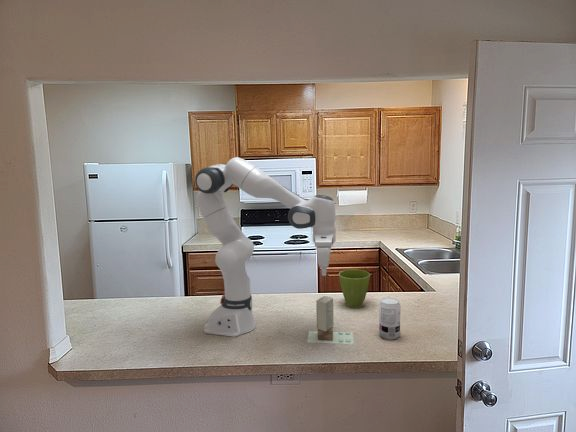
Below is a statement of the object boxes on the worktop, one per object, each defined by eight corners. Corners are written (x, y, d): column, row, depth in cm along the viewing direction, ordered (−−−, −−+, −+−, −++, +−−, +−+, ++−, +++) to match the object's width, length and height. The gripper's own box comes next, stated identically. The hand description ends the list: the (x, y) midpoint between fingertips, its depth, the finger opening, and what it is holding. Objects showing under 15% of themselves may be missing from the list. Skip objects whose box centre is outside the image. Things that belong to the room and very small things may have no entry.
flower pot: (332, 305, 200) (332, 274, 197) (351, 297, 209) (351, 267, 207) (356, 313, 189) (356, 280, 186) (375, 304, 199) (376, 273, 196)
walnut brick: (317, 340, 161) (317, 330, 160) (318, 333, 167) (318, 324, 166) (332, 340, 160) (332, 331, 159) (333, 333, 166) (332, 324, 165)
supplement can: (375, 333, 169) (375, 299, 166) (392, 329, 171) (392, 296, 169) (386, 341, 161) (387, 306, 159) (404, 337, 164) (404, 302, 161)
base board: (307, 345, 159) (307, 340, 159) (309, 334, 169) (309, 329, 169) (353, 347, 157) (353, 342, 157) (352, 335, 167) (352, 330, 167)
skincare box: (325, 323, 166) (324, 295, 164) (334, 326, 164) (333, 297, 162) (316, 329, 162) (315, 300, 160) (325, 332, 159) (325, 302, 157)
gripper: (317, 231, 167) (317, 263, 169) (314, 243, 147) (315, 279, 149) (332, 231, 166) (332, 264, 169) (331, 243, 146) (332, 279, 149)
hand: (324, 271), depth 159 cm, fingers open, 8 cm apart
